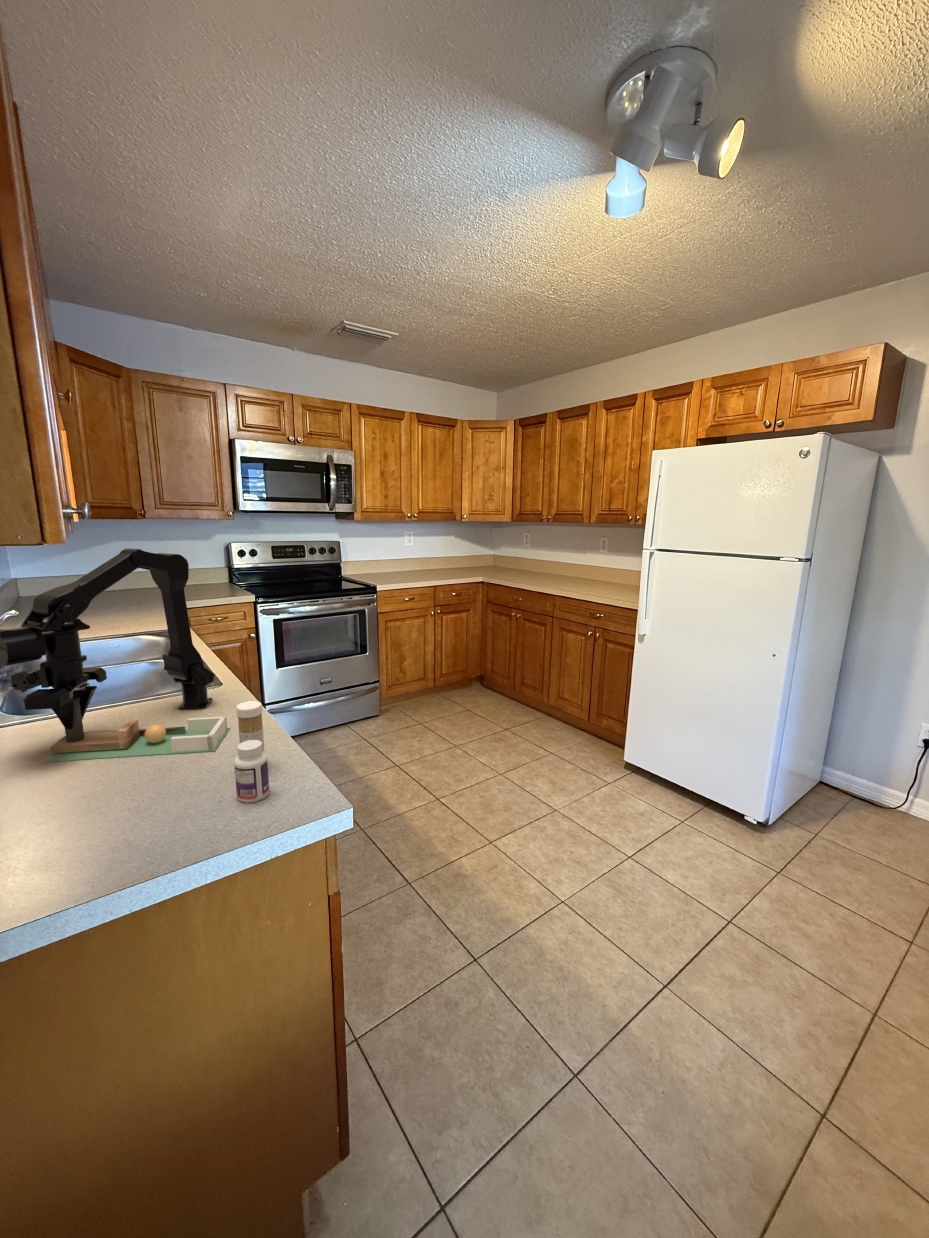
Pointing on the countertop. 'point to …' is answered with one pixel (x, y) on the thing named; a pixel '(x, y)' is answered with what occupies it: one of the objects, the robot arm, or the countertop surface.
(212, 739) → the box
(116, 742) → the striker sled
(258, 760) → the pill bottle
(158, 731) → the foosball
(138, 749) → the mat
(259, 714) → the sprinkles bottle
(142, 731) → the guide rail
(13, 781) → the countertop surface
